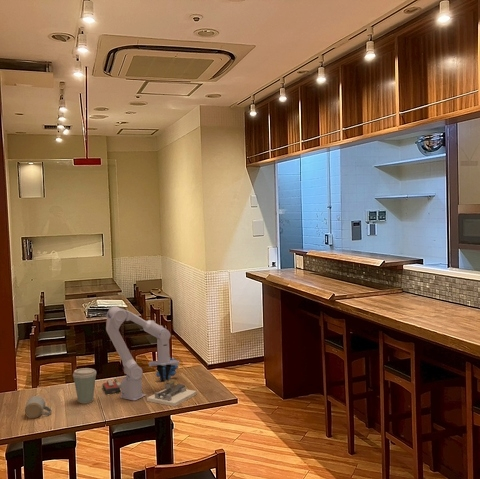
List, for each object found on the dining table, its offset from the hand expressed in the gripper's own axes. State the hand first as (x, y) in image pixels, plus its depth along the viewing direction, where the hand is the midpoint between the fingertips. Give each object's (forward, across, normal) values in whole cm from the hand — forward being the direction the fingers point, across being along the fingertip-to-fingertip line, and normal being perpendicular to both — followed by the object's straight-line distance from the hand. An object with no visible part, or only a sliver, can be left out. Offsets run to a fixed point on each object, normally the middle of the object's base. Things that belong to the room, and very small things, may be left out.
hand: (164, 380), depth 250 cm
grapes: (+5, -1, +16) cm, 17 cm away
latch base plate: (+5, +5, -10) cm, 12 cm away
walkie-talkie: (+6, -28, +6) cm, 29 cm away
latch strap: (+2, +5, -10) cm, 12 cm away
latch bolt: (0, +3, -2) cm, 4 cm away
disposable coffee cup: (+5, -35, -11) cm, 37 cm away
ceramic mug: (+5, -52, -26) cm, 58 cm away
